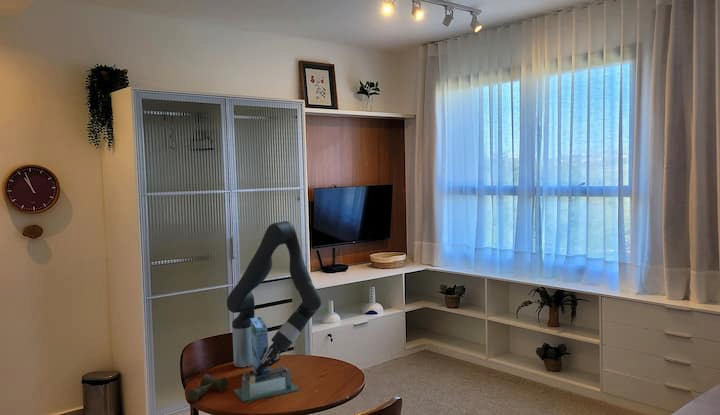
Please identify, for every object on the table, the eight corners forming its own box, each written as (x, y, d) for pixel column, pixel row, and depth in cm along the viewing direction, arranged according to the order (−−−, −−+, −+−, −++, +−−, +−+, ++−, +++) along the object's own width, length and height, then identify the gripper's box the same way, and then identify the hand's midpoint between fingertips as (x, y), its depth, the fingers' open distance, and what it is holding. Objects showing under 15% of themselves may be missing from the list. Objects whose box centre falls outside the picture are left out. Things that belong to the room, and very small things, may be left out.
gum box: (270, 383, 228) (267, 326, 227) (257, 384, 227) (255, 328, 226) (264, 368, 247) (261, 316, 246) (252, 370, 245) (249, 318, 244)
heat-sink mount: (233, 392, 219) (232, 371, 219) (286, 380, 230) (285, 360, 230) (243, 402, 208) (242, 380, 208) (299, 390, 218) (298, 369, 218)
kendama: (181, 402, 212) (214, 383, 231) (202, 406, 209) (234, 386, 227) (180, 386, 212) (213, 368, 230) (201, 390, 208) (233, 371, 227)
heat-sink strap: (246, 377, 217) (246, 374, 217) (284, 368, 225) (284, 366, 225) (249, 380, 213) (249, 377, 213) (288, 371, 221) (288, 369, 221)
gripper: (273, 327, 227) (245, 362, 222) (285, 334, 215) (255, 371, 210) (286, 338, 230) (258, 373, 224) (298, 345, 218) (269, 383, 213)
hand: (257, 372), depth 217 cm, fingers closed
